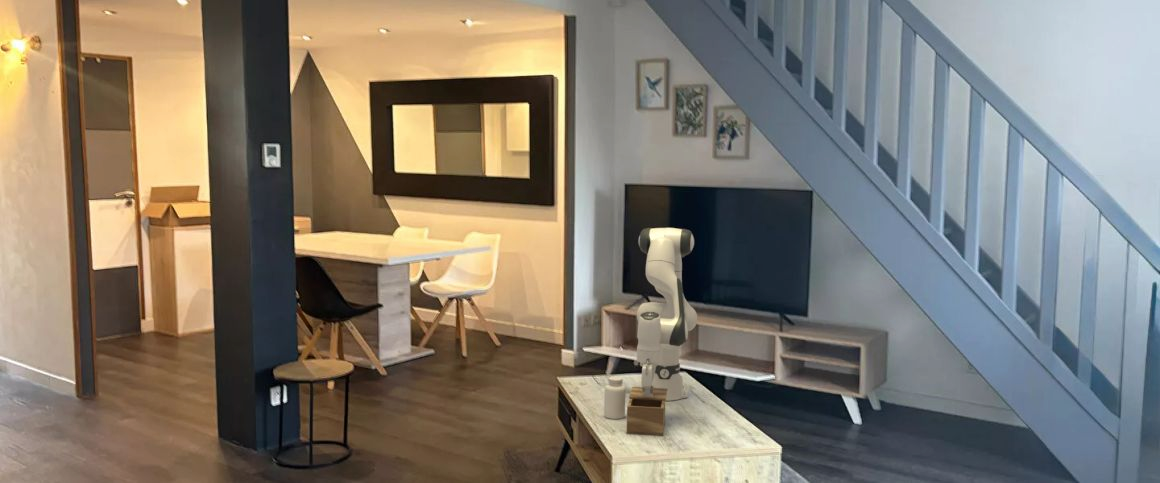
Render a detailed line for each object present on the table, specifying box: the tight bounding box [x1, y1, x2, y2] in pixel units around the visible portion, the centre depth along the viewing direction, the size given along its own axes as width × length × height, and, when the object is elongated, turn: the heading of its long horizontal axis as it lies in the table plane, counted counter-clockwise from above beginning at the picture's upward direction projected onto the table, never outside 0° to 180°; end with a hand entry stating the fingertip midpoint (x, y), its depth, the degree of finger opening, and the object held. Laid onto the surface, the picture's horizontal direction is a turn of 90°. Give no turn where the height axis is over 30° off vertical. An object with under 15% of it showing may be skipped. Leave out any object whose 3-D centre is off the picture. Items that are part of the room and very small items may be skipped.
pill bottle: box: [603, 376, 626, 420], centre depth 348 cm, size 8×8×15 cm
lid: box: [628, 386, 667, 402], centre depth 343 cm, size 14×13×4 cm
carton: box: [626, 399, 666, 437], centre depth 334 cm, size 14×13×10 cm
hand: (647, 393), depth 338 cm, fingers closed on lid, 2 cm apart
